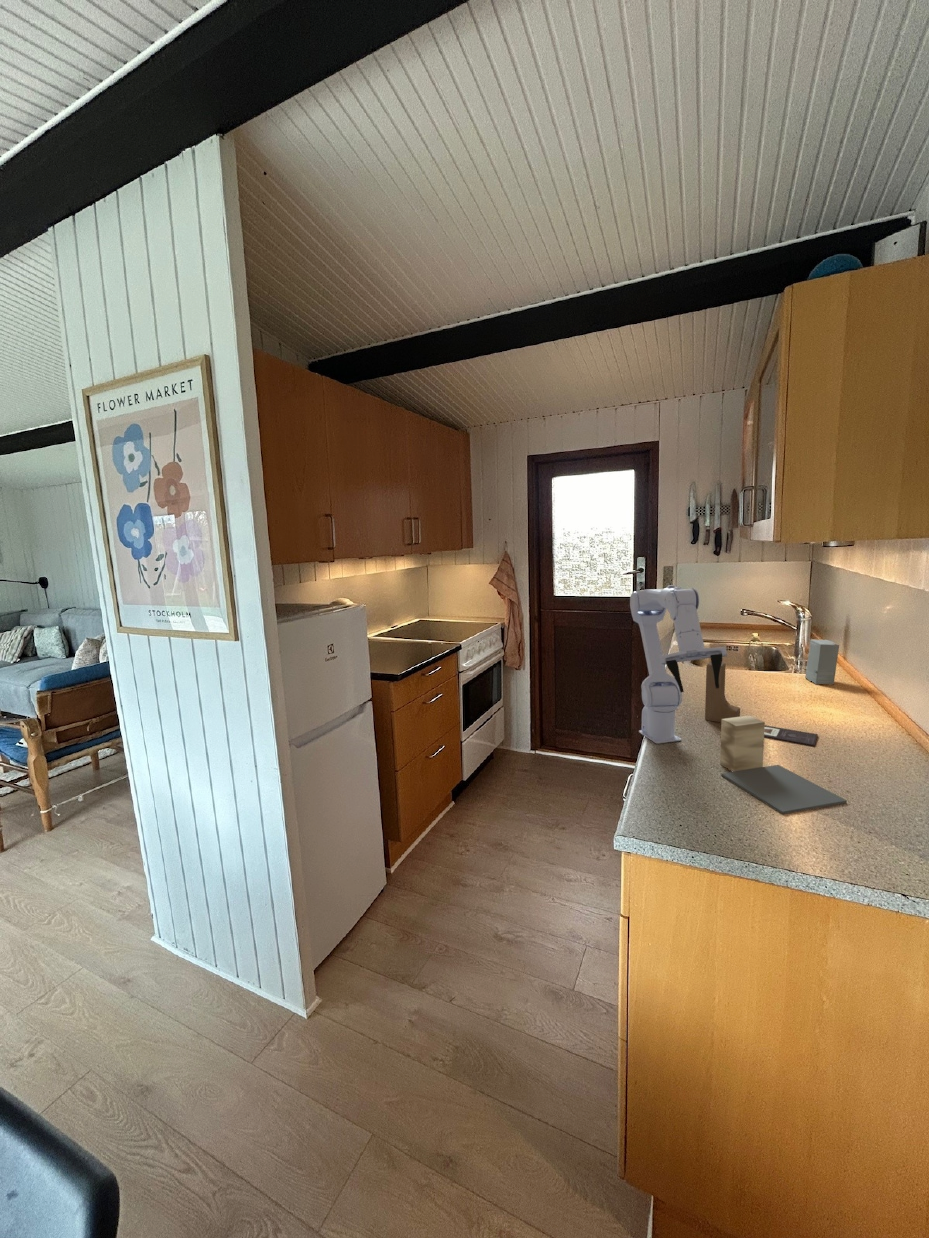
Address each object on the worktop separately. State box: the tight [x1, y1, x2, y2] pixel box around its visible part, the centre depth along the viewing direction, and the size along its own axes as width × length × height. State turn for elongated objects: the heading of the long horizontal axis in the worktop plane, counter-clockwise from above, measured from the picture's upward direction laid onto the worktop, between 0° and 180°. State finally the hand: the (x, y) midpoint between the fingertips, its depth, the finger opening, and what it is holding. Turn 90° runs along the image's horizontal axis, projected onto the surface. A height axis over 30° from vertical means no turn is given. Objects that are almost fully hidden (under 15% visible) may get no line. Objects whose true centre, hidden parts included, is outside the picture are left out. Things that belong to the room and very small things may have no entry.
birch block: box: [719, 715, 766, 772], centre depth 124 cm, size 5×8×12 cm, turn 102°
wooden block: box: [704, 661, 741, 724], centre depth 154 cm, size 9×4×18 cm, turn 49°
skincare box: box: [805, 638, 840, 685], centre depth 189 cm, size 8×7×16 cm
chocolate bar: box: [764, 724, 818, 748], centre depth 144 cm, size 9×1×18 cm
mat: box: [720, 764, 848, 815], centre depth 114 cm, size 18×16×1 cm
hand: (699, 689), depth 118 cm, fingers open, 7 cm apart
